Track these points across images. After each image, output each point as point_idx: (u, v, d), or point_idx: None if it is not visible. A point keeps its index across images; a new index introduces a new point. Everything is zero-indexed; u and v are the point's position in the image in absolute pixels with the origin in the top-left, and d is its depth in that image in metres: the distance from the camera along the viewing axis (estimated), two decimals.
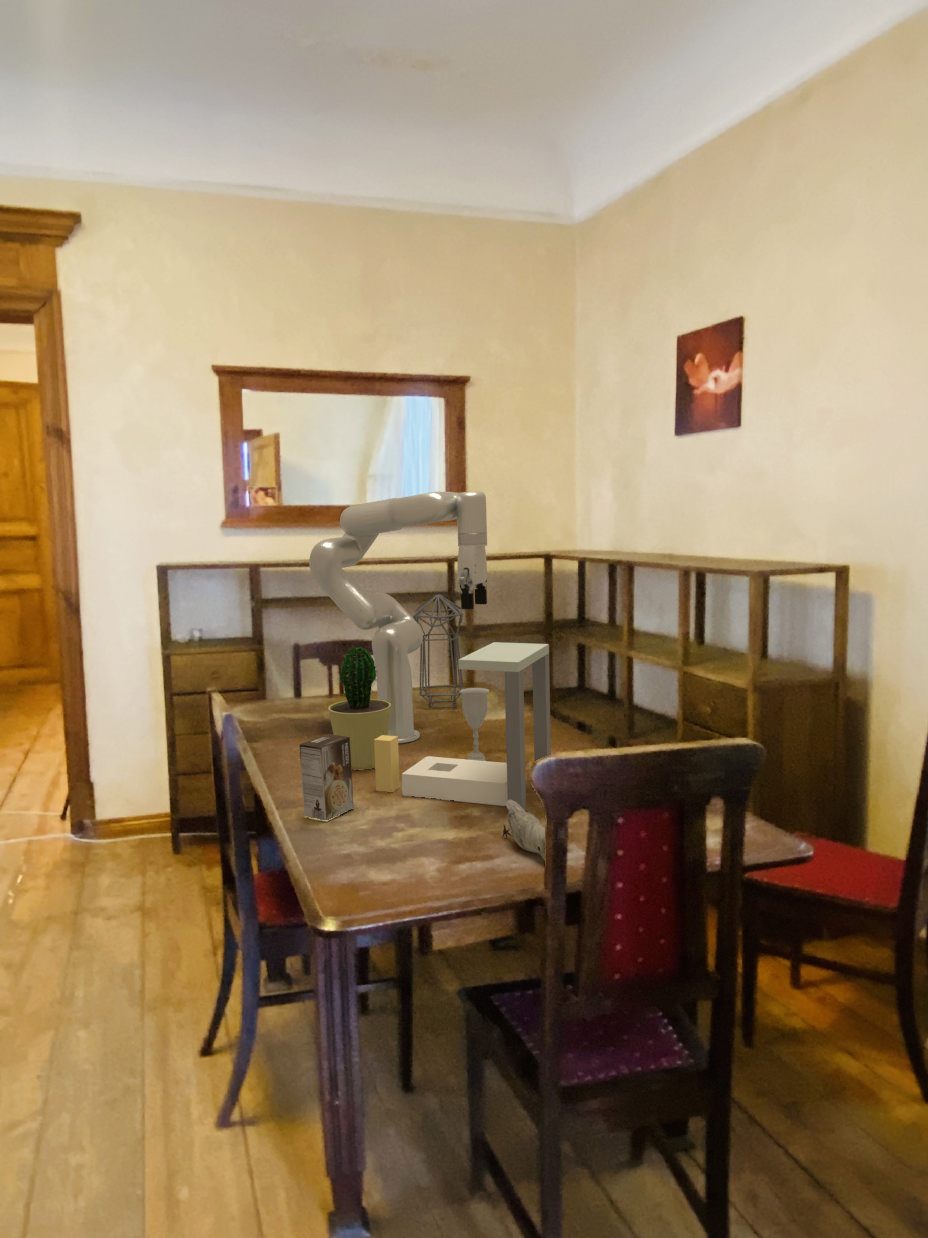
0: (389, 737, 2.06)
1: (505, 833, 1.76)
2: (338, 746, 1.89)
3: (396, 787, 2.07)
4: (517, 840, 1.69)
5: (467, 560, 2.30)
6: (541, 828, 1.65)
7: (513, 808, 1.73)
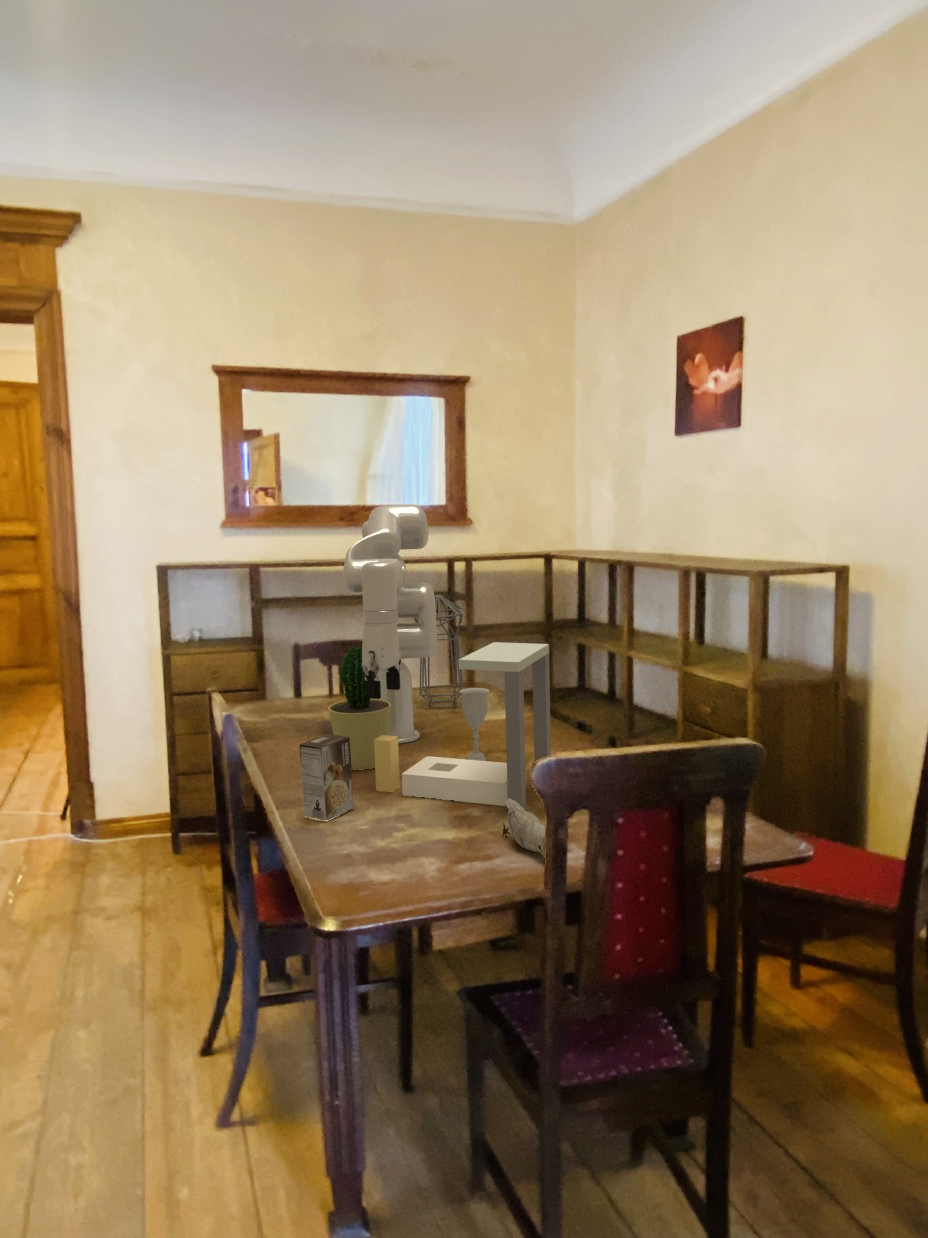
0: (389, 737, 2.06)
1: (505, 832, 1.76)
2: (338, 746, 1.89)
3: (396, 787, 2.07)
4: (517, 839, 1.69)
5: (373, 642, 1.98)
6: (542, 827, 1.65)
7: (513, 807, 1.74)
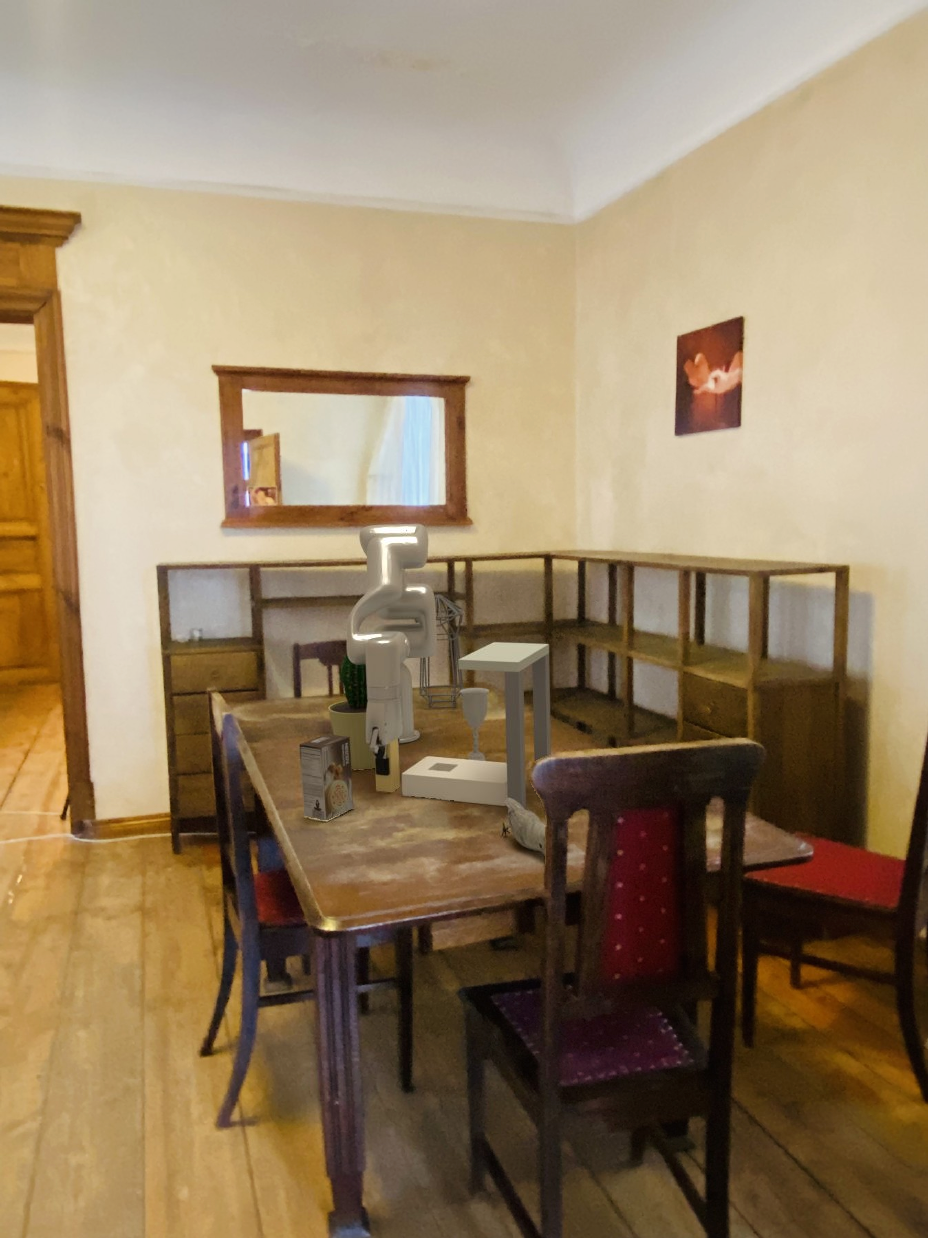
0: None
1: (504, 831, 1.77)
2: (338, 746, 1.89)
3: (396, 787, 2.07)
4: (518, 838, 1.70)
5: (376, 718, 2.00)
6: (542, 825, 1.66)
7: (513, 806, 1.74)
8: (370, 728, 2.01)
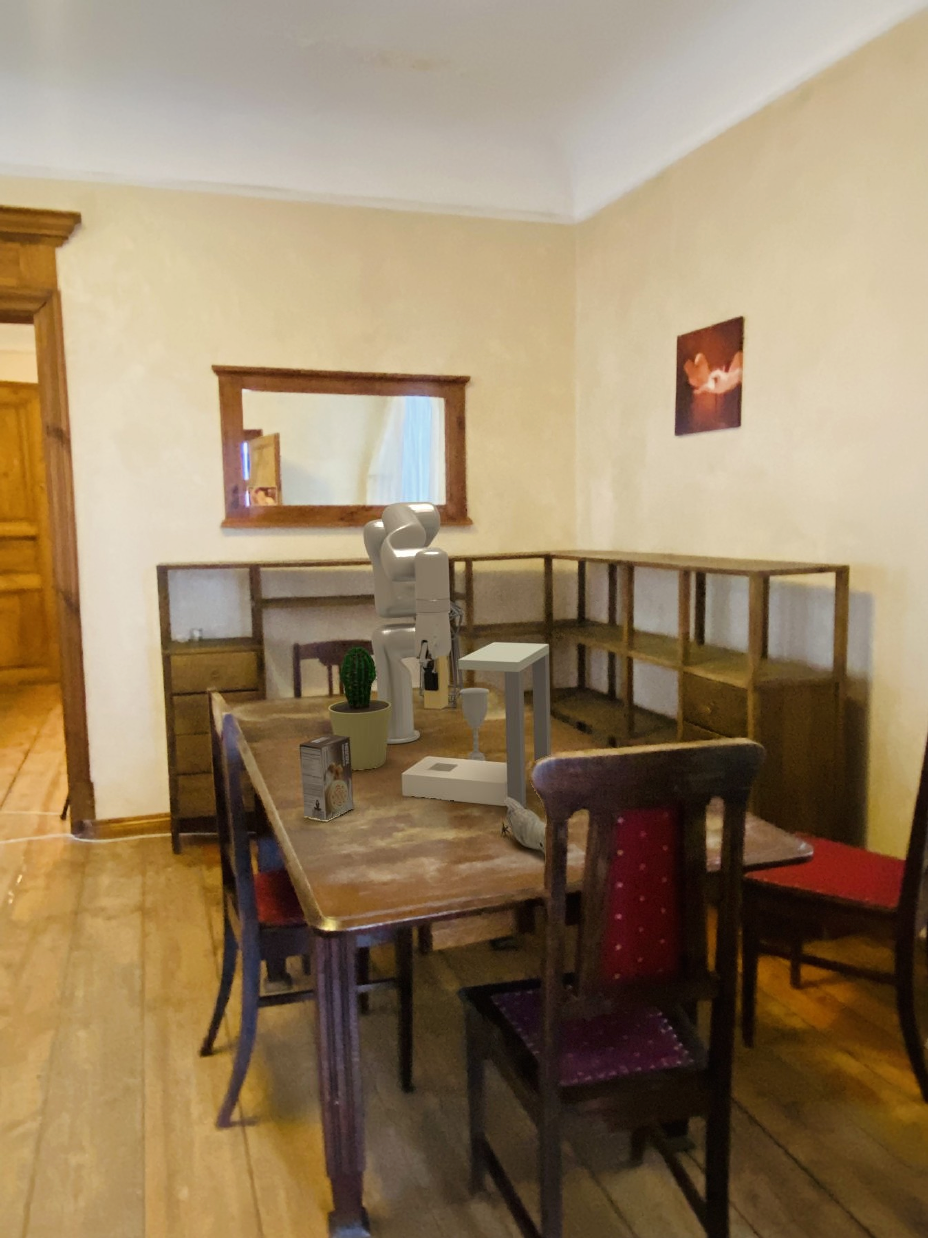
0: None
1: (504, 830, 1.77)
2: (338, 746, 1.89)
3: (444, 704, 2.03)
4: (518, 837, 1.70)
5: (425, 631, 1.97)
6: (542, 824, 1.66)
7: (512, 805, 1.75)
8: (419, 641, 1.98)
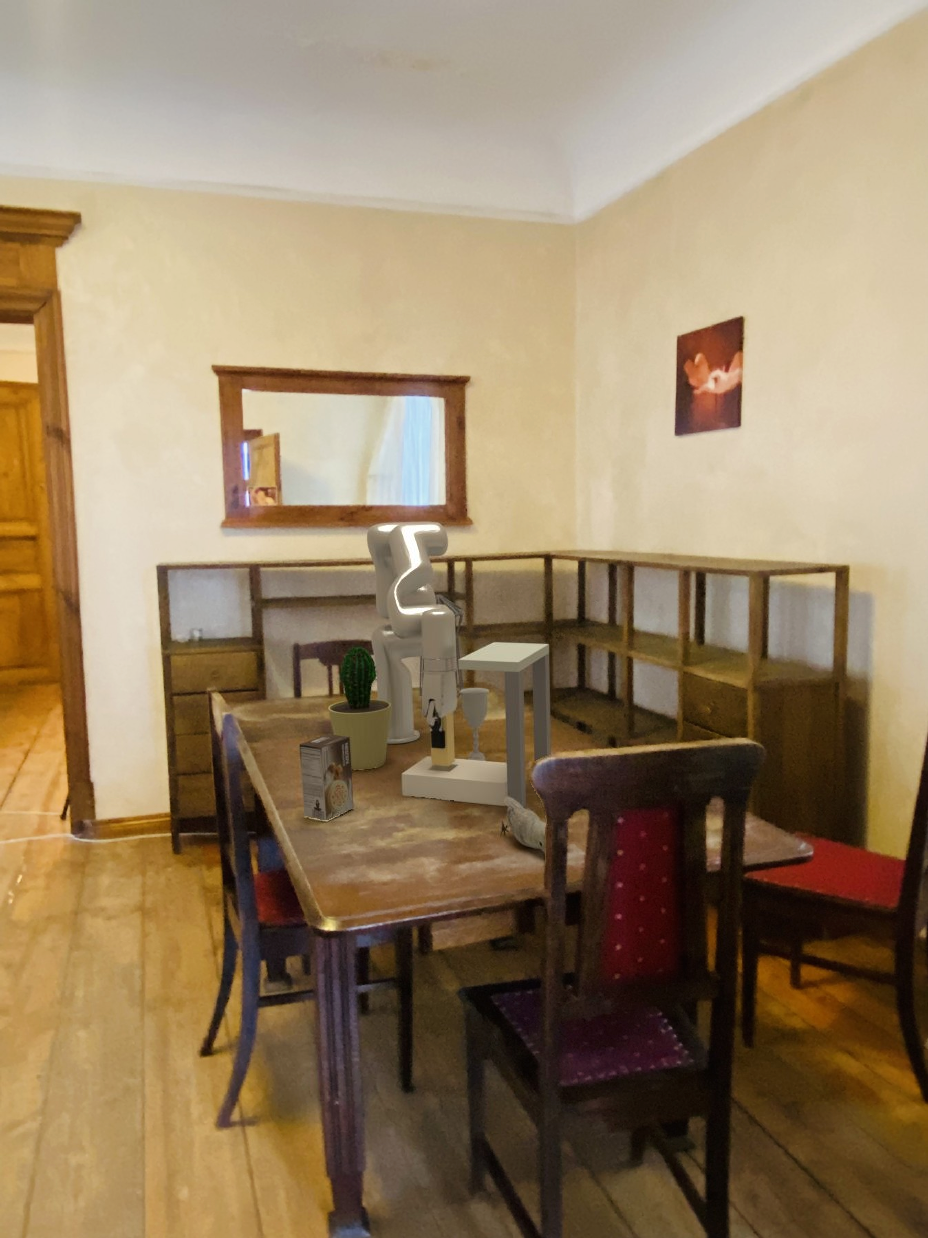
0: None
1: (503, 830, 1.78)
2: (338, 746, 1.89)
3: (451, 760, 2.05)
4: (517, 836, 1.70)
5: (433, 690, 1.99)
6: (542, 824, 1.67)
7: (512, 805, 1.75)
8: (426, 700, 1.99)
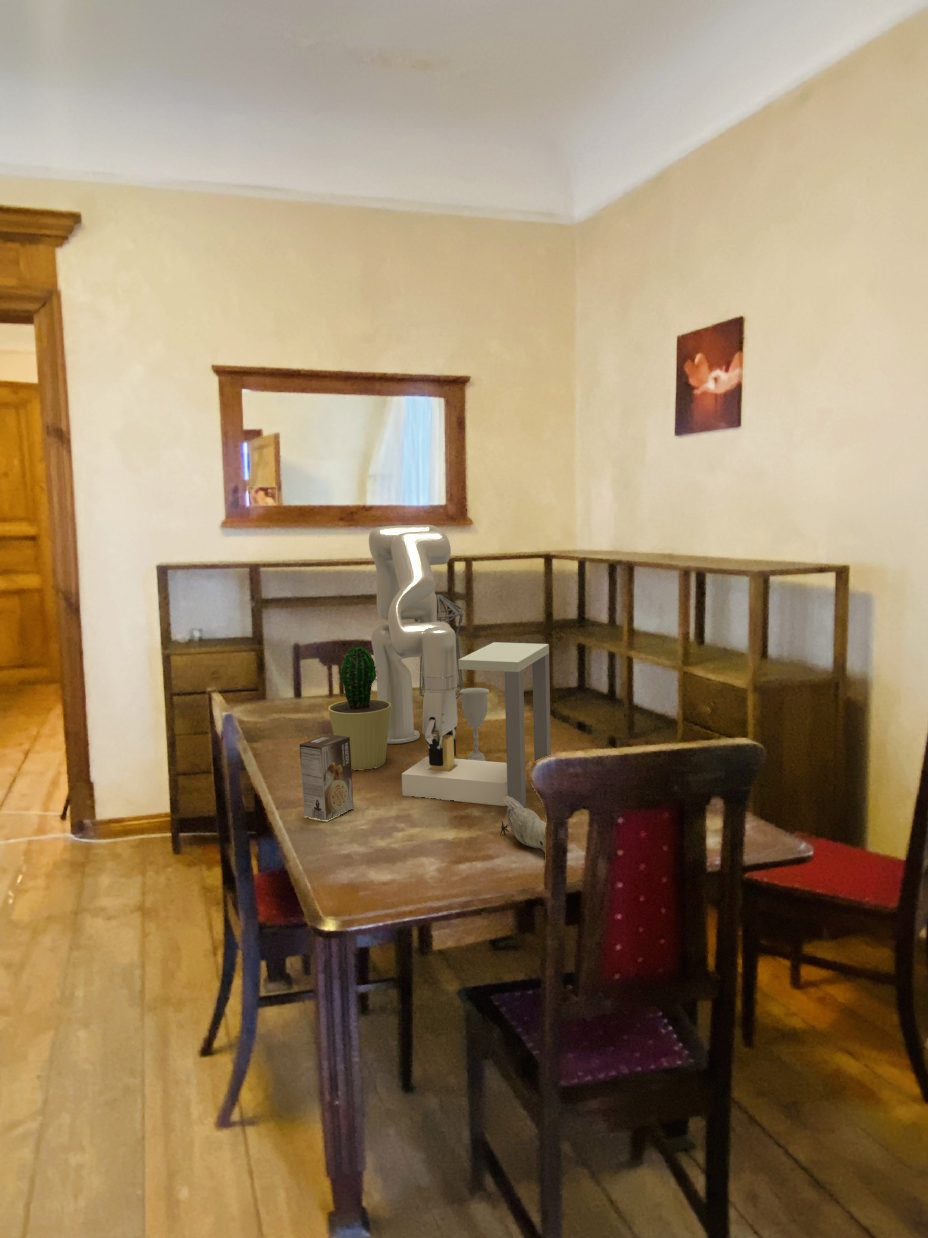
0: (445, 736, 2.05)
1: (503, 829, 1.78)
2: (338, 746, 1.89)
3: None
4: (518, 836, 1.71)
5: (433, 708, 1.99)
6: (543, 823, 1.67)
7: (512, 804, 1.75)
8: (427, 718, 2.00)
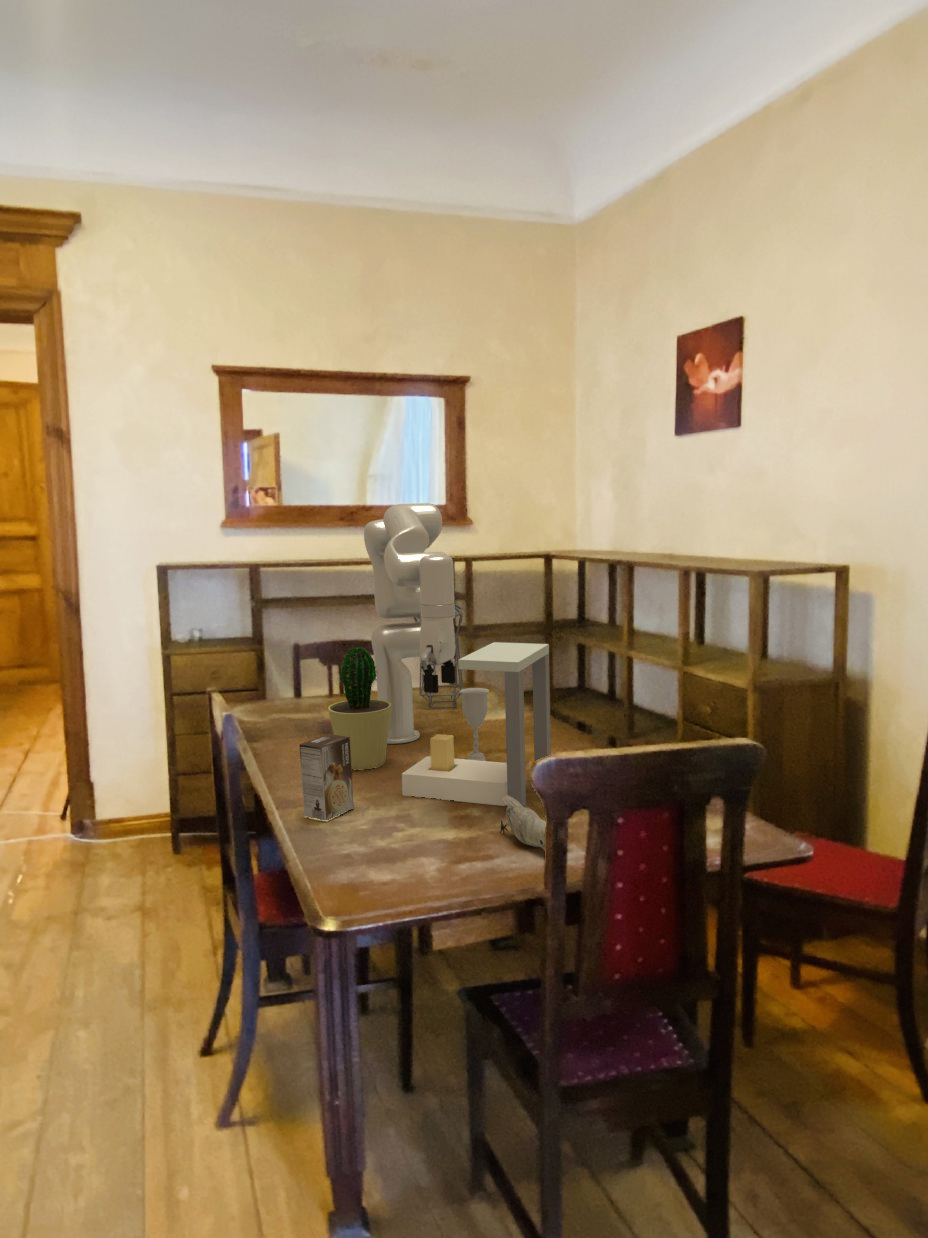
0: (445, 736, 2.05)
1: (502, 828, 1.78)
2: (338, 746, 1.89)
3: None
4: (517, 835, 1.71)
5: (431, 636, 1.97)
6: (542, 822, 1.68)
7: (511, 803, 1.76)
8: (424, 646, 1.98)
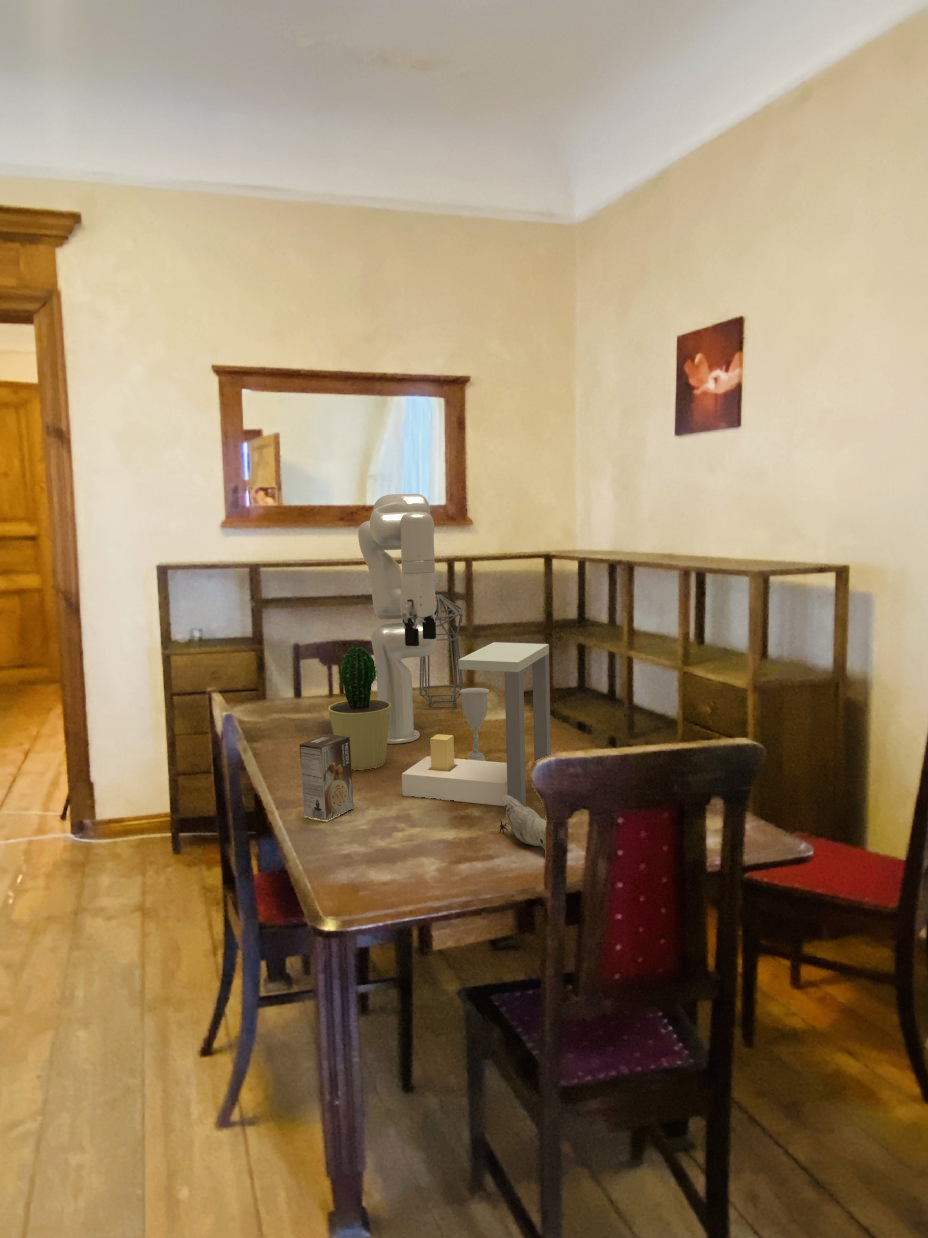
0: (445, 736, 2.05)
1: (502, 828, 1.79)
2: (338, 746, 1.89)
3: None
4: (517, 834, 1.72)
5: (411, 591, 2.04)
6: (543, 821, 1.68)
7: (511, 803, 1.76)
8: (405, 601, 2.04)
